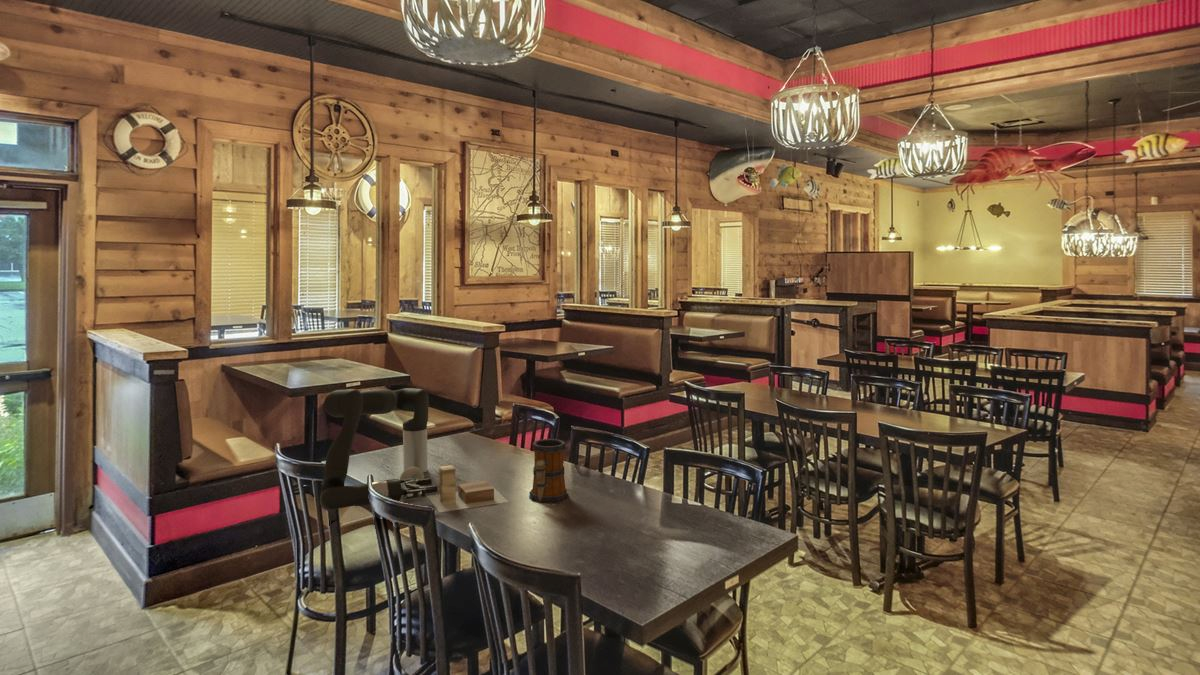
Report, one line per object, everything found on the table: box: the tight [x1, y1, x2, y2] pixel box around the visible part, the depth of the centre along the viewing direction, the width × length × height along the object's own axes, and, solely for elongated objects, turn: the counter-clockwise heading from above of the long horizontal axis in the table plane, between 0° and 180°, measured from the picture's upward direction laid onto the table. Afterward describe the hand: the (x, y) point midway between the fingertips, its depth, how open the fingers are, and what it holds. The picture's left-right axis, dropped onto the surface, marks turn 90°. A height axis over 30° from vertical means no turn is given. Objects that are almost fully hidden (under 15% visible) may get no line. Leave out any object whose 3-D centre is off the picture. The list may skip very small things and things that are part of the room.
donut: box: [399, 466, 425, 487], centre depth 246 cm, size 10×3×10 cm, turn 141°
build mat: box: [426, 487, 510, 513], centre depth 240 cm, size 18×24×1 cm
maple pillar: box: [438, 464, 457, 505], centre depth 237 cm, size 4×4×12 cm
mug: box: [528, 438, 570, 505], centre depth 240 cm, size 19×14×20 cm
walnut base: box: [457, 480, 495, 504], centre depth 242 cm, size 10×10×4 cm
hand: (434, 485), depth 235 cm, fingers open, 8 cm apart
